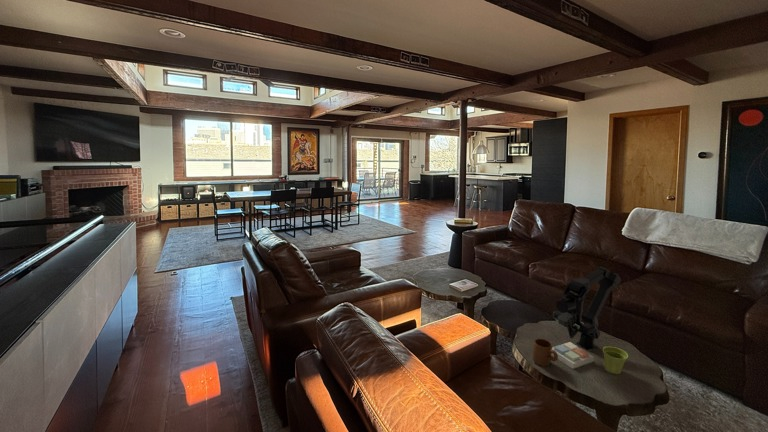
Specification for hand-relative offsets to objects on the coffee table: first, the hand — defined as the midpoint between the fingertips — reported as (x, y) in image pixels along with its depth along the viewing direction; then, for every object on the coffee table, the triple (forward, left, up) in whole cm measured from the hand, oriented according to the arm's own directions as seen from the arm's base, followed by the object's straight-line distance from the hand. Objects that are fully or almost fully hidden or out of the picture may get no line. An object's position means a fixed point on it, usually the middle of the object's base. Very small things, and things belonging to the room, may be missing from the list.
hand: (571, 338), depth 171 cm
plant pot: (-6, +17, -8) cm, 20 cm away
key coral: (0, +6, -6) cm, 8 cm away
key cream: (0, 0, -6) cm, 6 cm away
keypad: (+3, +3, -8) cm, 9 cm away
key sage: (+6, +6, -6) cm, 10 cm away
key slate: (+6, 0, -6) cm, 8 cm away
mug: (+18, +2, -8) cm, 20 cm away
